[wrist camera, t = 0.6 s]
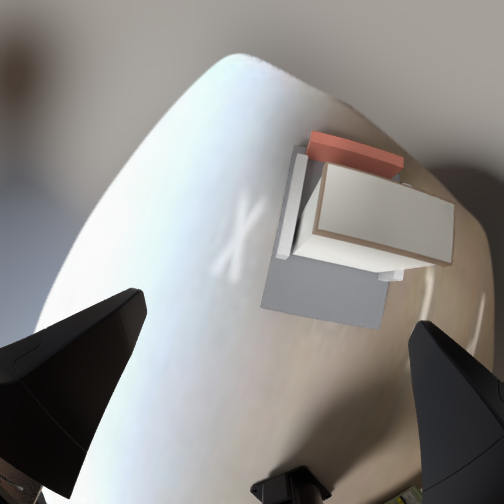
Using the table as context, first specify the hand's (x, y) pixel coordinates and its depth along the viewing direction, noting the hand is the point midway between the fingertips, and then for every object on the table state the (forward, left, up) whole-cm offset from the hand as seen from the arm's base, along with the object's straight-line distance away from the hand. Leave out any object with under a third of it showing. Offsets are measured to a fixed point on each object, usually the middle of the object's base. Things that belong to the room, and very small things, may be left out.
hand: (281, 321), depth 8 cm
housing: (+1, -7, -15) cm, 16 cm away
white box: (+1, -7, -13) cm, 14 cm away
